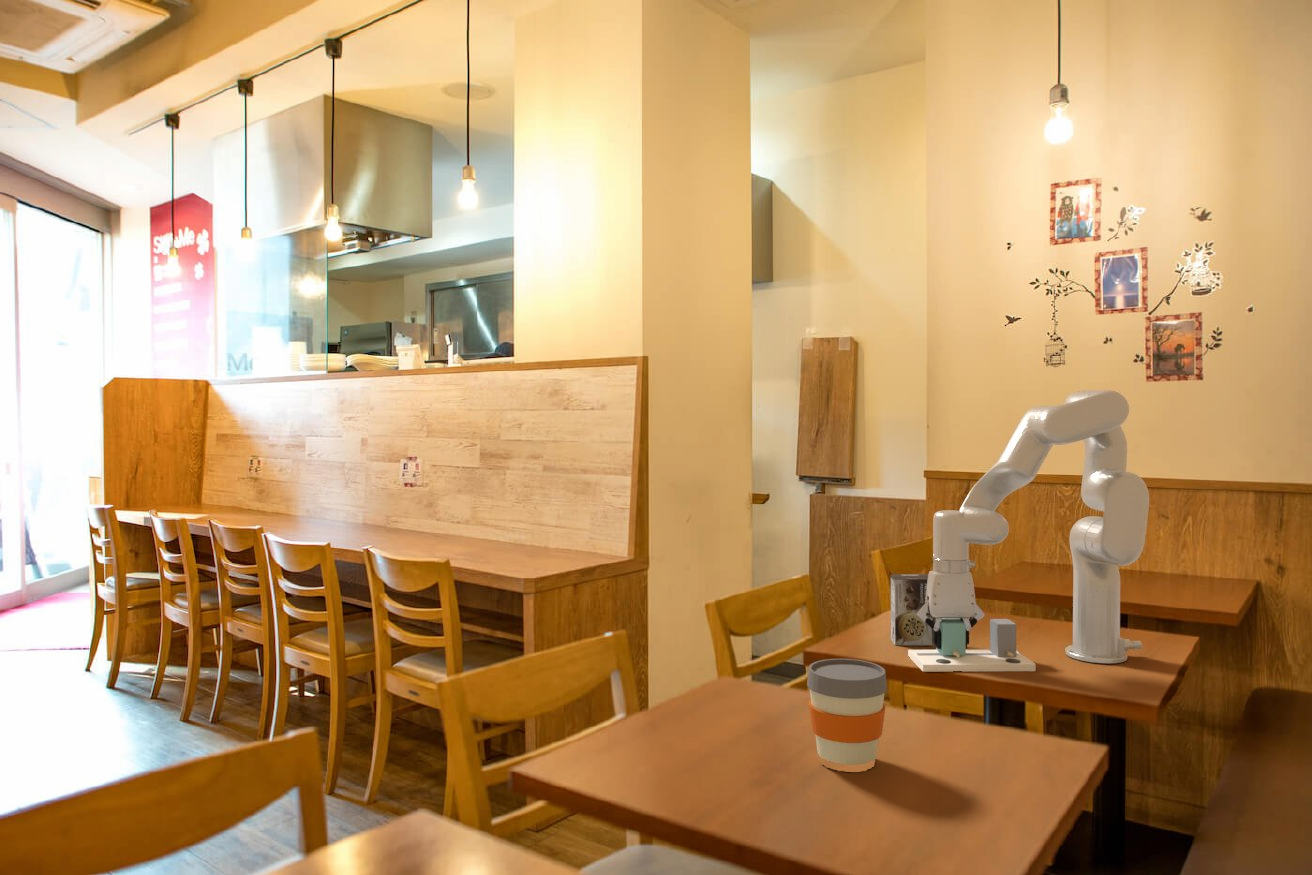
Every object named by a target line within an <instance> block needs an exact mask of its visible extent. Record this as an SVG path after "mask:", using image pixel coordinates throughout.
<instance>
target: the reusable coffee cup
mask: <svg viewBox="0 0 1312 875" xmlns="http://www.w3.org/2000/svg"><path fill="white" fill-rule="evenodd" d="M887 683H888V682H887V675H886V669H885V668H884V667H882V666H881V665H879V664H877V663H874V662H870V661H866V660H860V659H855V658H853V659H852V658H830V659H829V658H827V659H822V660H817V661H814V662H812V663H810V664H809V665H808V671H807V682H806V685H807V688H808V689H809V696H810V699H809V700H808V707H809V708H808V709H809V715H810V716H809V717H810V723H811V731H812V732H813V734H814V736H815V742H816V749H817V751H816V752H817V755H818V754H819V756H820V757H821V758H823V759H825V760H827V761H831V762H835V763H840V764H846V765H858V764H866V763H868V762H871V761H874V760H875V759H876V760H877V754H878V748H879V747H878V746H879V739H880V737H882V736H883V728H884V722H885V721H884V720H885V714H886V713H885V712H886V704H885V703H884V701H885V700H884V699H885V693H887V690H888V685H887Z"/></svg>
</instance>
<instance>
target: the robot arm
mask: <svg viewBox="0 0 1312 875" xmlns="http://www.w3.org/2000/svg"><path fill="white" fill-rule="evenodd" d="M1065 398H1066V399H1065V400H1064V402H1063V404H1060V405H1059V404H1058V405H1038V406H1034V407H1031V408H1029V409H1028V410H1027V411H1026V412H1024V414H1023V416H1022V417H1021V419H1020V421H1019V422H1018V423H1017V424H1018V425H1017V426H1016V427H1015V429H1014V431H1013V433H1012V435H1011V436H1010V439H1009V441H1008V442H1007V444H1006V446H1005V448H1004V449H1003V451H1002V452H1001V454H1000V456H999V458H998V459H997V460H996V462H995V463H994V464H993V466H991V467H990V468H989V469H988V470H987V472H985V473H984V474H983V475H982V476H981V477H980V478H979V480H977V482H976V483H975V484H974V485H973V487H972V488H971V489H970V491H969V492H968V494H967V495H966V497H965V499H964V501H963V503H962V505H961V506H960V507H959V510H955V509H953V510H952V509H947V510H946V509H945V510H938V511H935V513H934V514H933V519H932V524H933V525H932V543H933V544H932V552H933V553H932V566H933V567H932V570H929V572H928V580H927V588H926V599H925V604H924V605H923V606H922V608H921V609H920V610H919V611H918V612H917V616H918V617H920V618H921V619H922V620H923V621H925V622H926V623H927V624H928V625H929V626H930V627H931V628H932V643H933V646H934V647H935V649H936V648H937V649H941V631H940V628H939V627H940V624H941V621H942V618H959V619H960V620H961V621H963V622H964V623H966V649H968V645H969V644H970V631H972V628H973V627H974V626H975V625H976V624H977V623H978V622H979V621H980V620H982V619H983V618H984V617H985V613H984V611H983V610H982V609H981V608H980V606H978V604H977V603H976V593H975V585H974V580H973V575H972V572H970V569H971V568H975V566H976V561H975V560H971V559H970V557H969V556H970V554H969V553H970V552H969V551H970V550H969V546H970V544H975V545H977V544H978V545H985V546H992V545H993V546H994V545H998V544H1000V543H1002V542H1003V541H1004V540H1005V539H1006V538H1007V536H1008V535H1009V531H1010V530H1009V528H1010V527H1009V523H1008V521H1007V519H1006V518H1005V517H1004V516H1003V515H1002V514H1000V513H998V512H997V511H996V510H997V508H998V507H999V505H1000V504H1001V503H1002V501H1003V500H1004V499H1005V498H1006V497H1007V496H1009V495H1010V494H1012V493H1013V492H1014V491H1017V490H1019V489H1021V488H1024V487H1025V486H1027V485H1028V484H1030V483H1031V482H1032V481H1033V480H1034V479H1035V478H1036V476H1037V475H1038V473H1039V471H1040V469H1041V467H1042V465H1043V463H1044V462H1045V460H1046V459H1047V457H1048V456H1049V452H1050V451H1051V449H1052V447H1053V446H1054V445H1055V446H1063V445H1068V444H1072V443H1077V442H1079V441H1080V442H1081V441H1083V443H1084V462H1083V471H1082V479H1081V488H1080V496H1081V500H1082V502H1083V504H1085V505H1086V506H1087V507H1088V508H1090V509H1093V510H1096V511H1098V512H1103V517H1102V516H1095V515H1091V516H1090V515H1089V516H1085V517H1083V518H1080V519H1078V520H1076V522H1075V523H1074V524H1073V525H1072V528H1071V529H1070V532H1069V540H1068V541H1069V548H1070V553H1071V559H1072V560H1071V561H1072V571H1073V575H1072V576H1073V577H1072V578H1073V579H1072V580H1073V583H1072V584H1073V585H1072V586H1073V588H1072V591H1073V592H1072V601H1073V602H1072V607H1073V608H1072V644H1070V645H1068V646H1066V647H1065V649H1064V650H1065V652H1064V653H1065V655H1067V656H1068V657H1070V658H1072V659H1074V660H1078V661H1082V662H1086V663H1087V662H1088V663H1094V664H1095V663H1096V664H1108V665H1109V664H1110V665H1111V664H1121V663H1123V662H1126V661H1127V660H1128V653H1127V651H1129V650H1142V649H1143V643H1142V641H1141V640H1130V638H1129V639H1127V638H1124V637H1121V633H1120V632H1121V628H1120V627H1121V575H1120V569H1119V567H1123V566H1125V567H1126V566H1129V565H1131V564H1133V563H1135V562H1136V561H1138V559H1139V558H1140V557H1141V554H1142V553H1143V551H1144V547H1145V543H1146V542H1145V541H1146V535H1147V534H1146V533H1147V525H1148V518H1149V509H1150V508H1149V507H1150V492H1149V489H1148V486H1147V484H1146V482H1145V481H1144V480H1143V479H1142V478H1141V476H1139V475H1138V474H1136V473H1133V472H1131V471H1127V465H1128V464H1127V461H1128V443H1127V438H1126V434H1125V432H1124V430H1123V428H1122V427H1121V426H1122V425H1123V424H1124V423H1125V422H1126V421H1127V419H1128V416H1129V414H1130V406H1129V403H1128V400H1127V399H1126V397H1125V396H1124V395H1122V394H1121V393H1119V392H1118V391H1116V390H1112V389H1111V390H1109V389H1107V390H1106V389H1102V390H1100V389H1099V390H1095V389H1094V390H1090V389H1089V390H1081V391H1076V392H1073V393H1071V394H1070V395H1068V396H1067V397H1065ZM926 613H929V614H931V616H932V620H931V619H930V618H928V617H927V616H926Z"/></svg>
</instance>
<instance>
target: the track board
mask: <svg viewBox="0 0 1312 875" xmlns="http://www.w3.org/2000/svg"><path fill="white" fill-rule="evenodd" d="M908 656H909V657H910V658H909V657H908ZM907 657H908V658H909V659H910V660H911V661H912V662H913V664H915V665H916V666H917V667H918V668H919V669H920V670H921V671H922V672H923V673H924V672H925V673H926V672H927V673H928V672H930V673H931V672H933V673H935V672H936V673H937V672H939V673H940V672H941V673H942V672H945V673H946V672H953V671H962V672H1036V668H1037V667H1036V665H1037V664H1036V662H1035V663H1034V662H1033V661H1032V660H1031V659H1029V658H1028V657H1026V656H1024V655H1023V654H1021V653H1020V652H1019V651H1018V650H1017V624H1016V623H1015V622H1014V621H1012V620H1011V619H1009V618H990V619H989V648H987V649H986V648H985V649H981V648H980V649H978V648H977V649H973V648H970V649H968V648H967V649H966V655H960V657H957V656H955V655H942V654H941V653H940V652H939V651H937V650H936V649H907Z"/></svg>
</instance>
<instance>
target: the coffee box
mask: <svg viewBox="0 0 1312 875" xmlns="http://www.w3.org/2000/svg"><path fill="white" fill-rule="evenodd" d="M928 575H929V573H928V574H926V573H921V574H920V573H904V574H903V573H900V574H899V573H896V574H895V573H894V574H893V573H890V640H891V641H892V643H893V645H894V646H927V647H928V646H931V647H932V646H934V644H933V643H932V628H931V627H930V626H929V625H928V624H927V623H926V622H925V621H923V620H922V619H921V618H920V617H918V616H917V612H918V611H919V610H920V609H921V608H922V606H923V605H924V604H925V599H926V588H927V580H928ZM926 616H927V617H928V618H930V619H931V620H932V616H931V614H929V613H926Z"/></svg>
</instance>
